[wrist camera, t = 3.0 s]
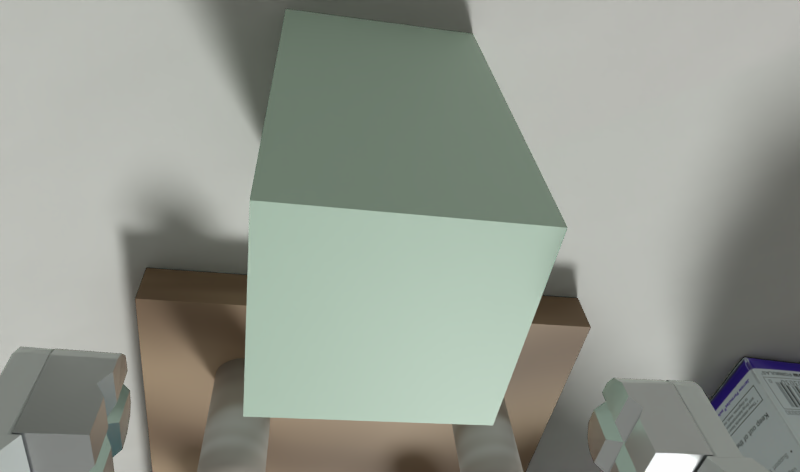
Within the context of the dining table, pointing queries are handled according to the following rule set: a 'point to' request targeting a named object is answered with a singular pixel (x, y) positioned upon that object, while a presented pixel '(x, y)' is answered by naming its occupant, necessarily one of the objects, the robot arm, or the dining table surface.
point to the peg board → (318, 438)
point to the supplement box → (763, 412)
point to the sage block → (390, 229)
